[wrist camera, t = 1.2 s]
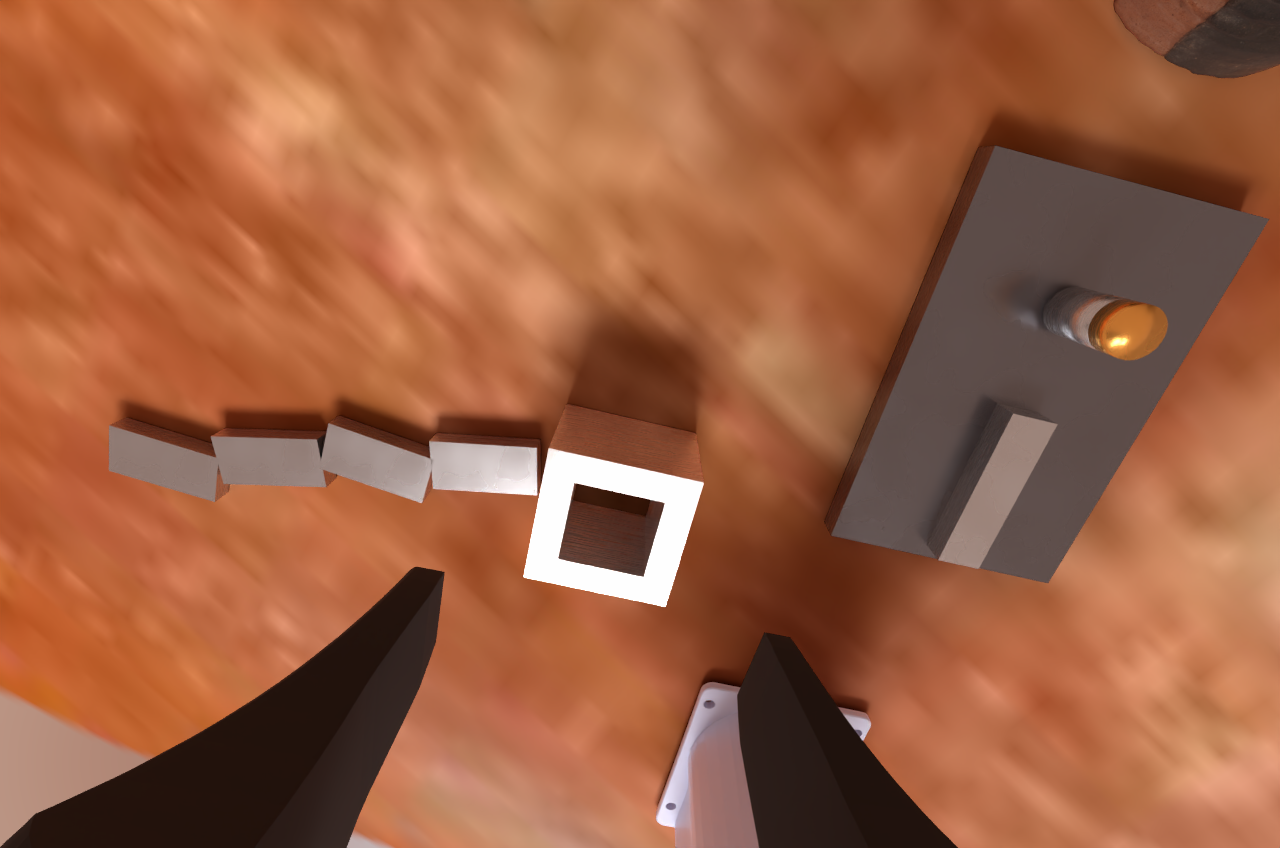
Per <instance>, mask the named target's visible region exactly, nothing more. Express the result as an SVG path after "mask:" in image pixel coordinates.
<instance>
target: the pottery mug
mask: <svg viewBox="0 0 1280 848" xmlns="http://www.w3.org/2000/svg"><path fill="white" fill-rule="evenodd" d="M1114 9H1115V12H1116V13H1117V14H1118V15H1119V17H1120V18H1121V20H1122V22H1123V24H1124V25H1125V27H1126V28H1127V29H1128V30H1129V31H1130V32H1131V33H1132V34H1133V35H1135V36H1136V38H1137V39H1138V40H1139V41H1140V42H1141V43H1142V44H1144V45H1146V46H1148V47H1149V48H1151V49H1152V50H1153V51H1154V52H1155V53H1157V54H1159V55H1162V56H1164V57H1165V59H1166V60H1167V61H1169V62H1171V63H1173V64H1175V65H1178V66H1180V67H1183V68H1186V69H1188V70H1190V71H1191V72H1192V73H1195V74H1201V75H1209V76H1215V77H1218V78H1237V77H1243V76H1247V75H1250V74H1254V73H1256V72H1260V71H1263V70H1266V69H1269V68H1271V67H1274V66H1277V65H1279V64H1280V0H1115V1H1114Z"/></svg>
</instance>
